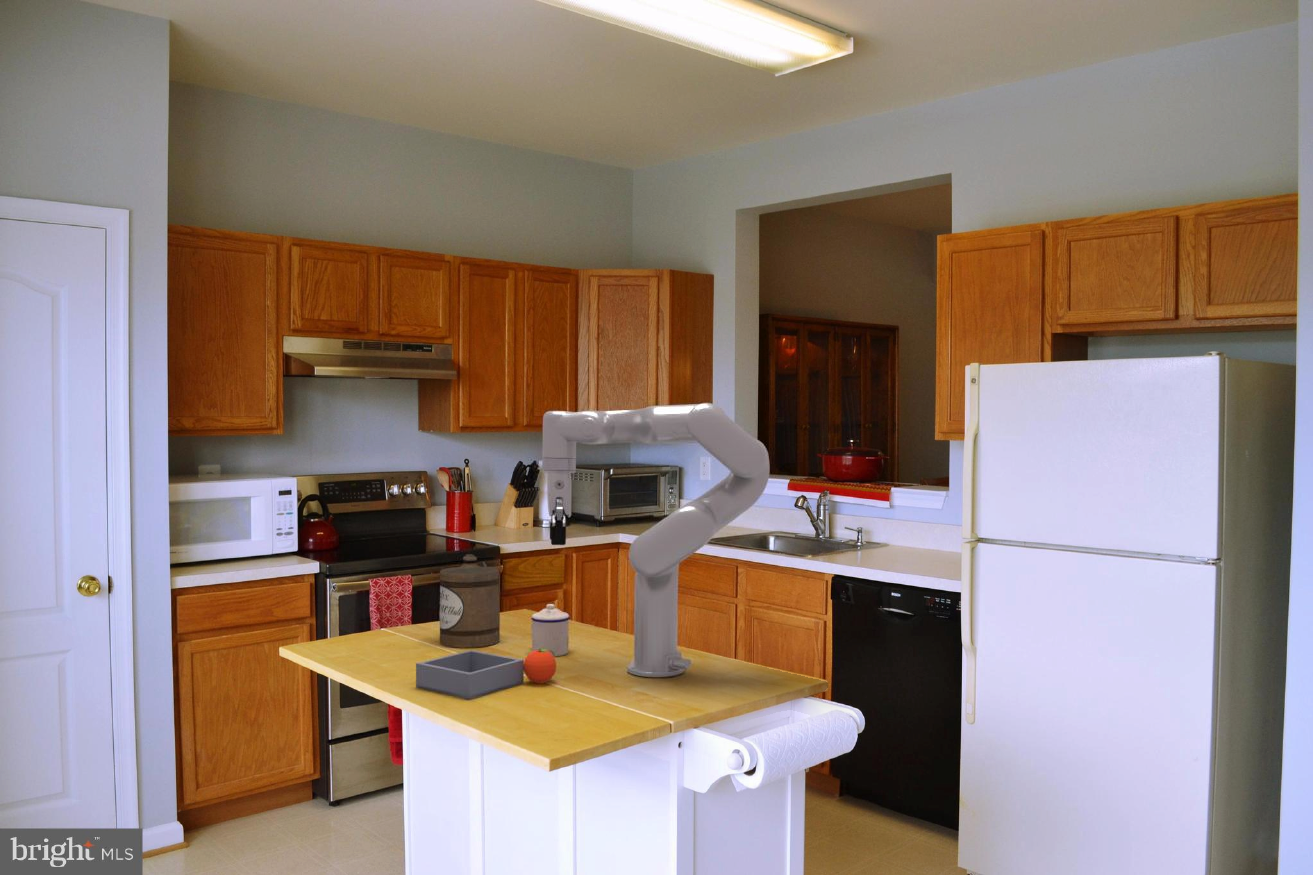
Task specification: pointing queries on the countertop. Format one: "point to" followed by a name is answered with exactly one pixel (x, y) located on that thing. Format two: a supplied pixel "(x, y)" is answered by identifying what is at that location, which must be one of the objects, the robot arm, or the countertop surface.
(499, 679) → the bin
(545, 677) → the clementine
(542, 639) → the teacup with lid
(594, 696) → the countertop surface
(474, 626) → the wooden container
